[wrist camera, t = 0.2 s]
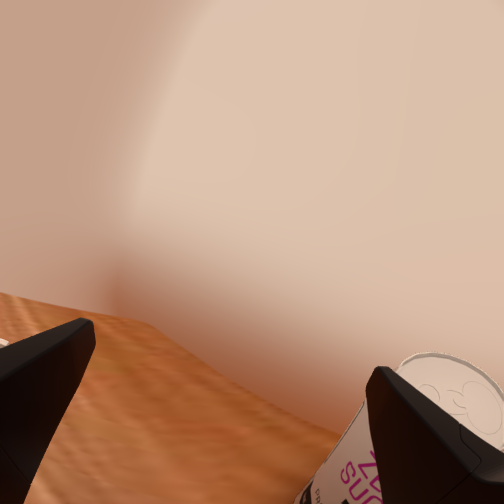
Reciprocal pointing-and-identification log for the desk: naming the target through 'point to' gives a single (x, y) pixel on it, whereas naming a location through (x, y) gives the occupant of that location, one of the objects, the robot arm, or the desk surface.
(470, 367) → the supplement can
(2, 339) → the clip
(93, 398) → the desk surface
